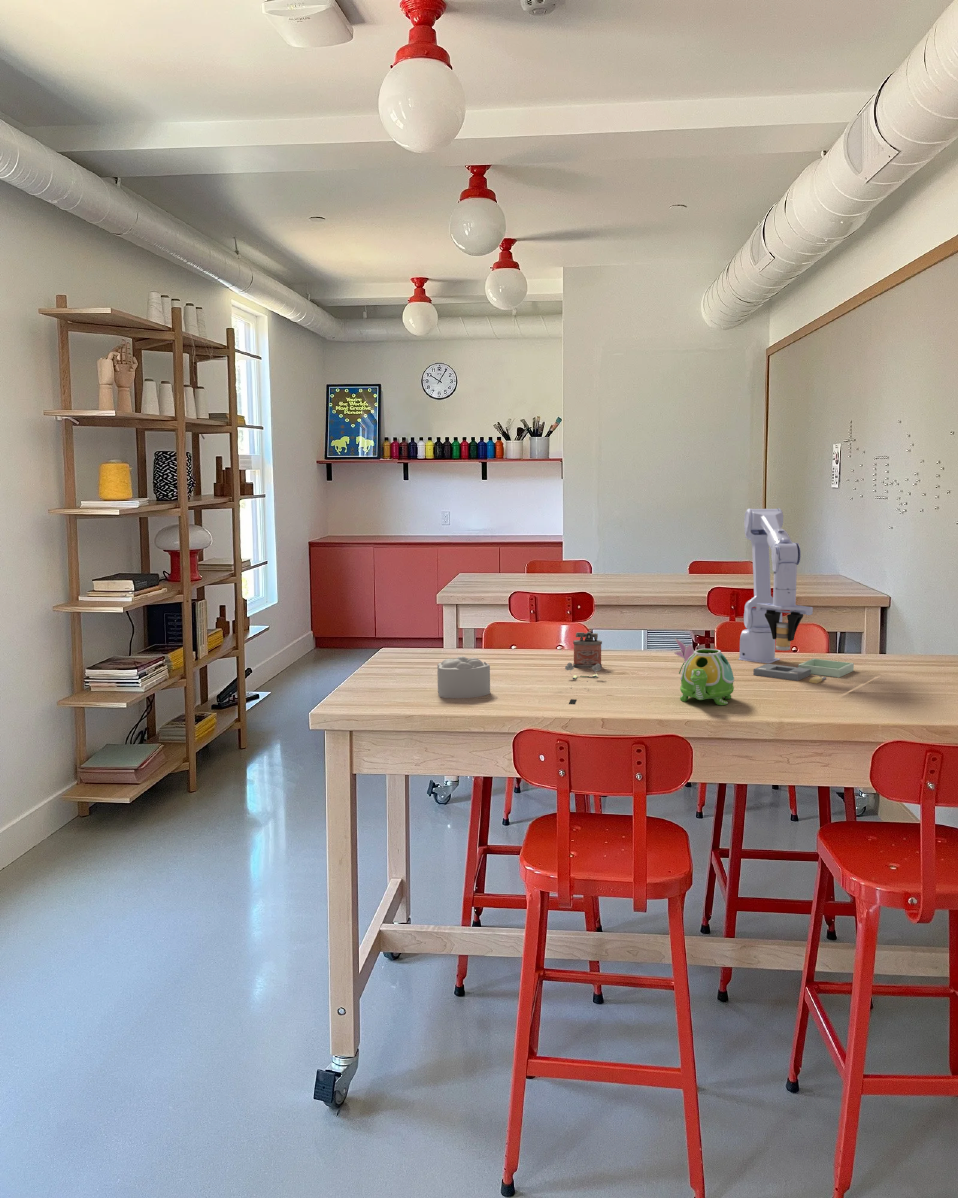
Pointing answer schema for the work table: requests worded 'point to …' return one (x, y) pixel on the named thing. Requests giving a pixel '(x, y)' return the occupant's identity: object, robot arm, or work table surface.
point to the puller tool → (817, 679)
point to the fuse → (782, 636)
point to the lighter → (587, 650)
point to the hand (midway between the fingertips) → (783, 639)
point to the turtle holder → (707, 677)
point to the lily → (684, 651)
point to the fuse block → (782, 672)
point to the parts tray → (827, 667)
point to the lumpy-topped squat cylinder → (463, 678)
